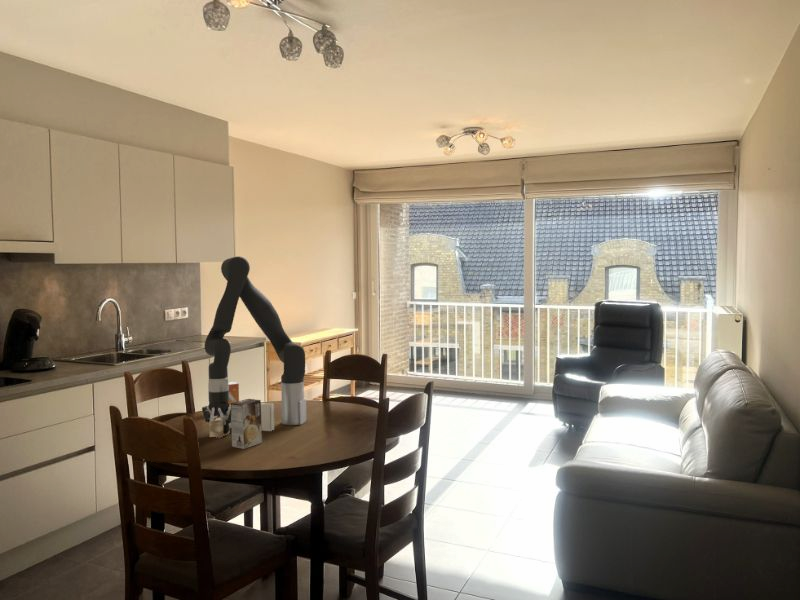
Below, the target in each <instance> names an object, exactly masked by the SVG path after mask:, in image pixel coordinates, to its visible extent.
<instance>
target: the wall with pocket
mask: <svg viewBox="0 0 800 600" xmlns="http://www.w3.org/2000/svg"><path fill="white" fill-rule="evenodd" d="M261 426H262V432H272V430H273V431H275V403H274V402H261Z"/></svg>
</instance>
